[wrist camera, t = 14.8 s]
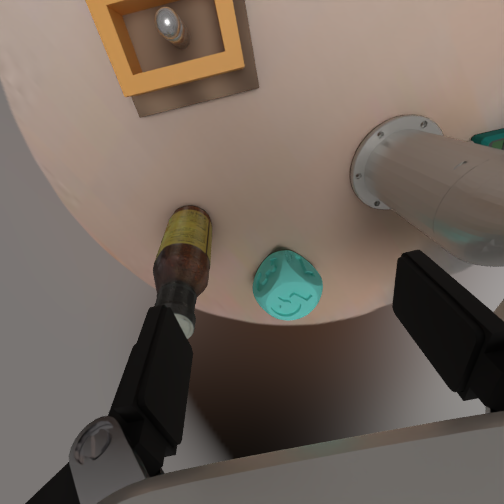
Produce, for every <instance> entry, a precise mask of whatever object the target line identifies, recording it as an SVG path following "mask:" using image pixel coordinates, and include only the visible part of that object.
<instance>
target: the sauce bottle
mask: <svg viewBox="0 0 504 504" xmlns="http://www.w3.org/2000/svg"><path fill="white" fill-rule="evenodd" d="M211 241H212V225H211V221H210V218H209V216H208V214H207V213H206V212H205V211H203V210H202V209H200V208H198V207H195V206H185V207H182V208H179V209H178V210H176V211H175V213H174V214H173V216H172V217H171V218H170V220H169V222H168V225H167V228H166V231H165V234H164V236H163V239H162V241H161V245H160V248H159V251H158V254H157V256H156V260H155V263H154V267H153V275H154V280H155V285H156V290H157V300H156V303H155V306H159V305H165V306H166V307H170V308H171V309H172V311H173V313H174V315H175V317H176V319H177V321H178V323H179V324H180V326H181V328H182V330H183V332H184V334H185V336H186V338H187V339H188V338H189V337H190V336H191V335H192V334H193V332H194V327H195V321H196V318H195V314H194V309H195V304H196V300H197V297H198V296H199V295H200V294H201V293H202V292H203V291H204V290H205V288H206V287H207V283H208V278H209V269H210V259H211Z"/></svg>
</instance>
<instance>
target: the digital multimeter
mask: <svg viewBox="0 0 504 504" xmlns="http://www.w3.org/2000/svg"><path fill="white" fill-rule="evenodd" d="M471 141H473V142H474V143H476V144H480V145H484V146H488V147H493V148H497V149H501V150H504V129H499V130H495V131H490V132H486V133H482V134H477V135H475V136H473V137H472V139H471Z"/></svg>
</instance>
